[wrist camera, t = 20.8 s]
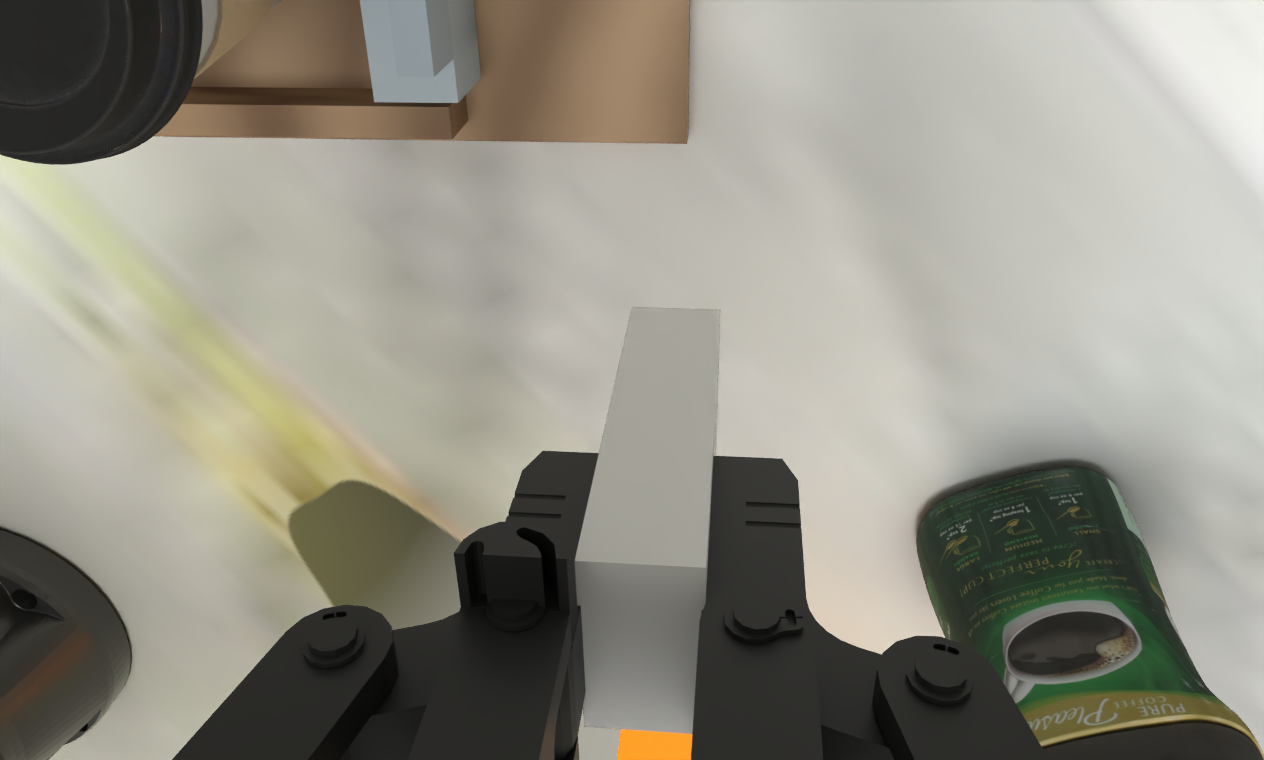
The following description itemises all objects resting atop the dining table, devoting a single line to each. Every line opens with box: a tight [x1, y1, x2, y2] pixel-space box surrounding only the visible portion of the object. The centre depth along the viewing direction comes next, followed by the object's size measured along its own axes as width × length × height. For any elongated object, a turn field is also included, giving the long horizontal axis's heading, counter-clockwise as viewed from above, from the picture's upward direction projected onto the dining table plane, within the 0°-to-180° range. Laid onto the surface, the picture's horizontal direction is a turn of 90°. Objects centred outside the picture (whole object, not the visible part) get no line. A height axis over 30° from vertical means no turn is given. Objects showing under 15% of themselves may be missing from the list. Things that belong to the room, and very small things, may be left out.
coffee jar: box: [916, 467, 1264, 760], centre depth 40 cm, size 10×8×19 cm
